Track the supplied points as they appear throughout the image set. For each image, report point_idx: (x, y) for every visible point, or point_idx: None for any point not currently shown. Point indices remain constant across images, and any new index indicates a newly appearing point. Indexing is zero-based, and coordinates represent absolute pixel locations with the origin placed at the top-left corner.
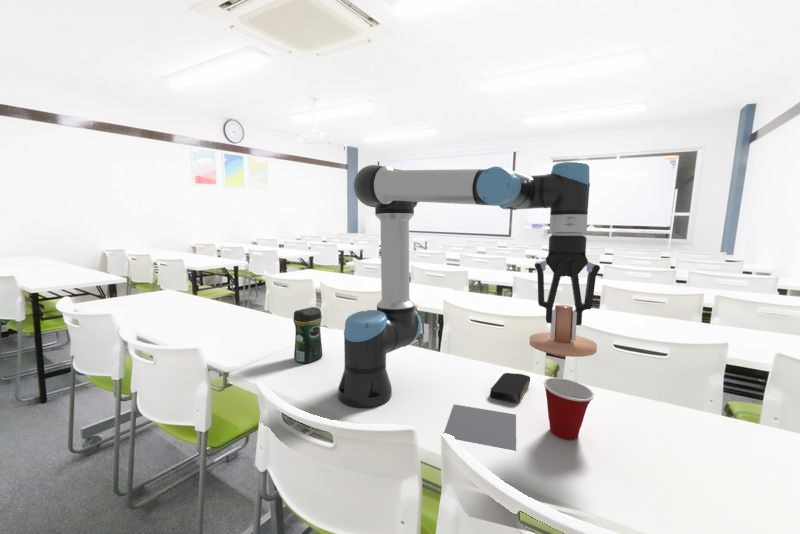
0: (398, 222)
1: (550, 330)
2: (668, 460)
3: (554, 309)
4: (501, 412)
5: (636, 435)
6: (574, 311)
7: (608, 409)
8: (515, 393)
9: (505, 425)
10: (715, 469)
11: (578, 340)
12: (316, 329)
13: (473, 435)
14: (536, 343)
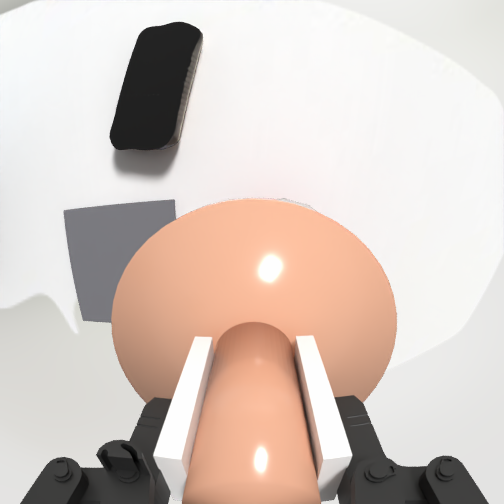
0: None
1: (190, 354)
2: (414, 255)
3: (183, 486)
4: (144, 204)
5: (395, 191)
6: (322, 497)
7: (368, 97)
8: (162, 142)
9: None
10: (456, 255)
11: (333, 321)
12: None
13: None
14: None
